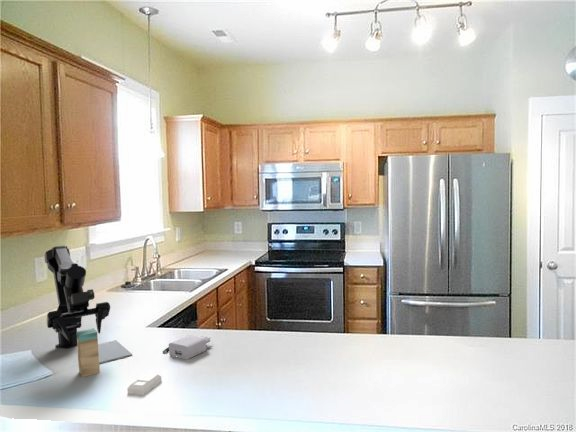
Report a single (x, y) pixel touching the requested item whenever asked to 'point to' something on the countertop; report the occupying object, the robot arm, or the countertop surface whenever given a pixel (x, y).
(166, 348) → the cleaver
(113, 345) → the mat
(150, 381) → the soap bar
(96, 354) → the oak block
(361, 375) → the countertop surface
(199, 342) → the charger
